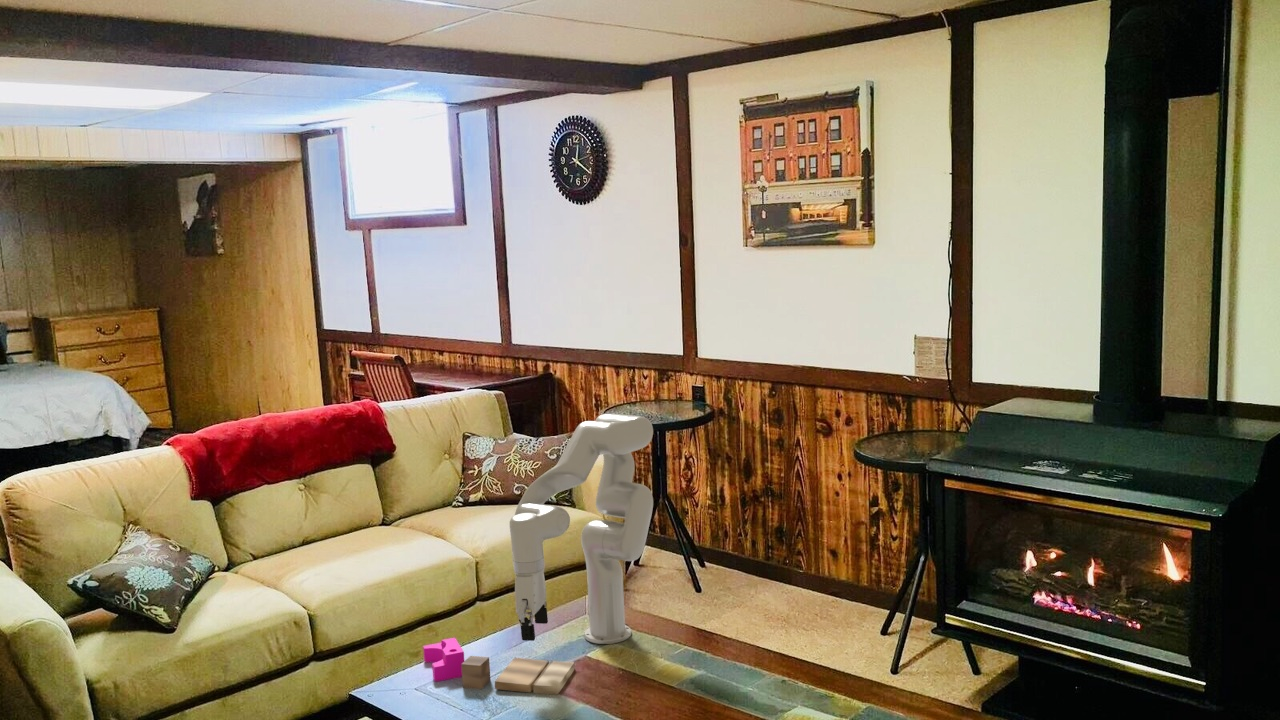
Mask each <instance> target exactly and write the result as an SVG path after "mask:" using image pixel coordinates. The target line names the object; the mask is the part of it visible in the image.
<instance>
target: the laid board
mask: <svg viewBox="0 0 1280 720" xmlns="http://www.w3.org/2000/svg"><path fill="white" fill-rule="evenodd" d="M575 668H576V667H575V662H574V661H560V660H559V661H557V660H551V661H549V664H548V666H547V667H546V668H545V670H544V671H543V672H542V674H541V675H540V676H539V678H538V679H537V680H536V682H535V683H534V684H533V690H532V691H533V694H538V695H539V694H540V695H541V694H542V695H543V694H544V695H556V696H557V695H559V694H560V692H561V690H563V688H564V686H565V685H566V683H567V682H568V680H569V678H570V677H571V676H572V674H573V673H574V671H575Z"/></svg>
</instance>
